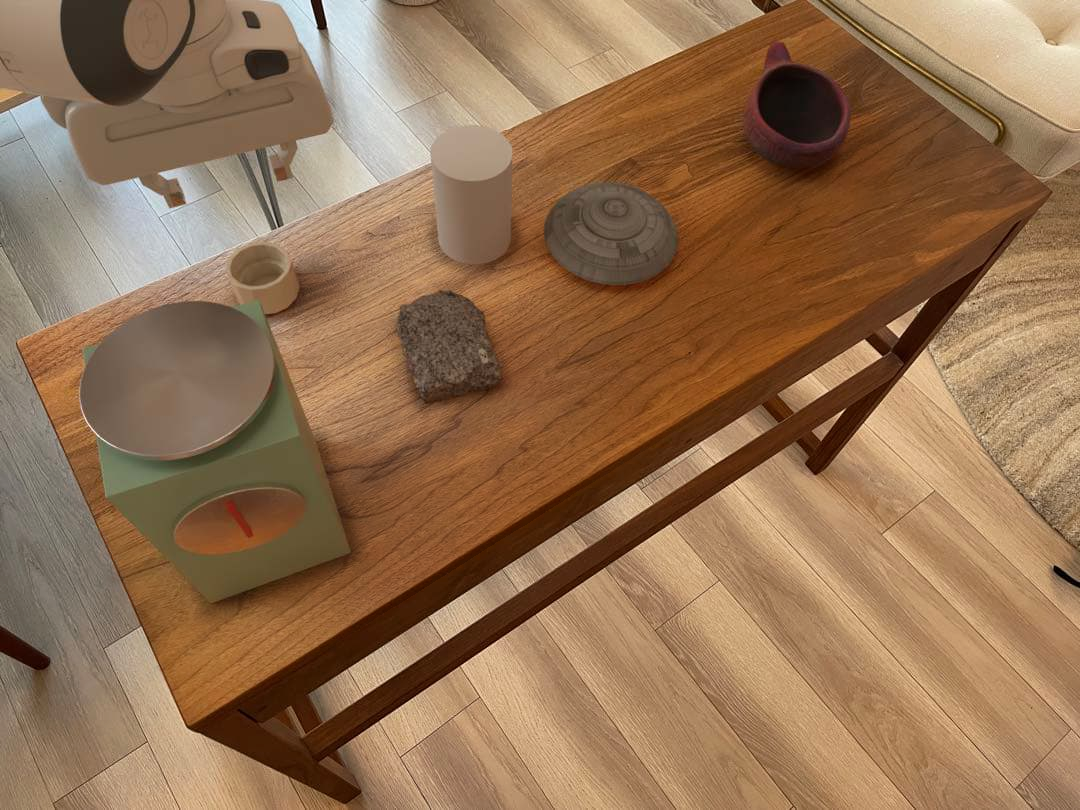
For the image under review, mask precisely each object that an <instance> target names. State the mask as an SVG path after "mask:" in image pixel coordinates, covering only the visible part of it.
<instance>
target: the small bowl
mask: <svg viewBox="0 0 1080 810" xmlns="http://www.w3.org/2000/svg"><path fill="white" fill-rule="evenodd" d="M225 272H226V276H227V279H228V282H229V284H230V286H231V289H232V291H233V293H234V295H235V297H236V300H237V302H238V305H241V304H245V303H248V302H252V301H256V300H259V301H260V303H261V306H262V308H263V311H264V313H265V315H271V314H277V313H279V312H281V311H283V310H286V309H287V308H289V307H290V306H291V305H292V303H293V302H295V301H296V299H297V298H298V296H299V295H298V294H299V291H300V284H299V281H298V278H297V273H296V271H295V269H294V266H293V263H292V259H291V256H290V254H289V251H287V250H286V249H285V248H284V247H282V246H281V245H280V244H278V243H273V242H270V241H265V240H264V241H257V242H250V243H248V244H246V245H243V246H240V247H239V248H237V249H236V250H235V251H234V252H233V253H232V254H231V255H230V256H229V257H228V260H227V263H226V265H225Z"/></svg>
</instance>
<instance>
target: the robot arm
mask: <svg viewBox="0 0 1080 810" xmlns="http://www.w3.org/2000/svg"><path fill="white" fill-rule="evenodd" d="M294 27H295V26H293V23H292V21H291V19H290V17H289V16H288V14H287V13H286V11H285V9H284V8H283V6H282V5H280V3H277V2H274V1H270V0H269V1H268V0H0V89H3V90H7V91H8V90H9V91H14V92H20V93H24V94H25V93H26V94H31V95H37V96H39V97H40V102H41V104H42V105H43V107H44V109H45V111H46V113H47V114H48V115H49V117H50V119H51V120H52V121H53V122H54V123H55V124H56V125H58V126H59V127H61V128H63V129H66V131H67V134H68V135H67V136H68V138H69V141H70V144H71V146H72V150H73V152H74V154H75V157H76V160H77V161H78V164H79V167H80V168H81V170H82V172H83V174H84V176H85V178H87V179H88V180H90V181H91V182H94V183H95V184H98V185H100V186H108V185H113V184H117V183H122V182H126V181H129V180H134V179H139V181H140V183H141V185H142V186H144V187H145V188H147V189H149V190H151V191H152V192H154V193H156V194H157V195H159V196H161V197H163V199H164V201H165V202H166V205H167V207H168V208H169V209H173V208H178V207H182V206H185V205H187V200H186V196H185V193H184V190H183V189H182V187H181V185H180V184H181V183H180V182H179V180H178V177H175V178H171V179H167V178H165V177H164V176H163V175H161V174H160V173H164V172H168V171H173V170H176V169H181V168H186V167H189V166H193V165H198V164H202V163H206V162H210V161H215V160H220V159H224V158H227V157H232V156H237V155H241V154H244V153H250V152H253V151H257V150H262V149H266V148H270V147H274V146H278V145H279V147H278V150H277V153H275V154H271V155H268V158H269V161H270V164H271V167H272V171H273V175H274V176H275V179H276V182H282V181H287V180H291V179H294V176H293V172H292V169H291V165H292V162H293V160H294V158H295V155H296V153H297V152H298V143H297V141H299V140H304V139H307V138H313V137H316V136H322V135H325V134H327V133H328V132H329V131H330V129H331V128H332V126H333V124H334V122H335V121H334V116H333V112H332V108H331V106H330V103H329V99H328V97H327V95H326V92H325V90H324V87H323V84H322V81H321V79H320V77H319V75H318V73H317V71H316V69H315V66H314V64H313V62H312V60H311V57H310V55H309V53H308V51H307V50H306V48H305V46H304V45H303V44H302V43H301V42H300V40H299V36H298V34H297V32H296V29H295V28H294Z"/></svg>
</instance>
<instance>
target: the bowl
mask: <svg viewBox="0 0 1080 810" xmlns="http://www.w3.org/2000/svg"><path fill="white" fill-rule="evenodd" d="M851 119H852V110H851V105H850V102H849V99H848V98H847V96H846V93H845V91H844V90H843V89H842V86H840V84H839V83H838V82H836V81H835V80H834V79H833V78H832V77H830V75H828V74H826V73H825V72H823V71H822V70H820V69H817V68H815V67H812V66H810V65H808V64H804V63H799V62H798V63H797V62H793V60H792V58H791V54H790V52H789V50H788V48H787V46H786V44H785V43H784V42H782V41H777V40H776V41H773V42H771V44H770V45H769V47H768V49H767V51H766V55H765V59H764V64H763V70H762V74H761V75H760V76H759V77H758V78H757V80H756V82H755V83H754V85H753V86H752V88H751V90H750V93H749V95H748V98H747V99H746V102H745V106H744V111H743V114H742V127H743V131H744V134H745V137H746V139H747V141H748V143H749V144H750V146H751V147H752V149H753V150H754V151H755V152H756V153H757V154H758V155H760V156H761V157H762V158H763V159H765V160H766V161H767V162H770V163H772V164H774V165H778V166H781V167H786V168H790V169H791V168H792V169H807V168H813V167H816V166H819V165H821V164H824V163H825V162H827V161H828V160H830V159H831V158H833V157H834V156H835V155H836V154H837V153H838V152H839V151H840V149H842V147H843V146H844V144H845V142H846V139H847V137H848V135H849V131H850V130H849V129H850V125H851Z"/></svg>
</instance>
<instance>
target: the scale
mask: <svg viewBox="0 0 1080 810" xmlns="http://www.w3.org/2000/svg"><path fill="white" fill-rule="evenodd" d="M81 350H82V355H83V361H84V369H83V371H82V374H81V377H80V382H79V389H78V399H79V400H78V401H79V406H80V410H81V411H80V412H81V414H82V417H83V419H84V421H85V423H86V425H87V426H88V427H89V429H90V430H91V431H92V432H93V433H94V435H95V437H96V444H97V450H98V457H99V463H100V469H101V476H102V481H103V483H102V484H103V490H104V494H105V499H106V500H107V501H109V502H110V503H111V504H112V505H113V506H114V507H115V508H116V510H118V511H119V512H120V514H122V515H123V516H124V517H125V518H126V520H128V521H129V523H131V524H132V526H133V527H135V529H136V530H137V531H139V533H140V534H141V535H143V537H144V538H145V539H147V541H148V542H149V543H150V544H151V545H152V546H153V547H154V548H155V549H156V550H157V551H158V552H159V553H160V554H161V555H163V557H164V558H165V559H166V560H167V561H168V563H170V564H171V565H172V566H173V567H174V568H175V569H176V570H177V571H178V572H179V573H180V574H181V575H182V577H184V578H185V579H186V580H187V581H188V582H189V583H190V584H191V585H192V586H193V587H194V588H195V589H196V590H197V592H199V593H200V594H201V596H203V597H204V598H205V599H206V600H207V601H208V602H209V603H210V604H214V603H216V602H219V601H222V600H224V599H228V598H230V597H233V596H236V595H238V594H241V593H244V592H247V591H249V590H253V589H255V588H259V587H261V586H263V585H267V584H268V583H272V582H274V581H275V582H276V581H278V580H280V579H283V578H285V577H288V576H291V575H294V574H297V573H299V572H302V571H305V570H308V569H310V568H313V567H316V566H320V565H322V564H325V563H328V562H330V561H332V560H335V559H338V558H341V557H343V556H346V555H348V554H351V553H352V552H351V548H350V545H349V542H348V539H347V535H346V532H345V529H344V525H343V523H342V520H341V515H340V513H339V510H338V506H337V503H336V500H335V497H334V494H333V491H332V487H331V485H330V482H329V478H328V475H327V472H326V469H325V465H324V463H323V460H322V457H321V453H320V450H319V446H318V443H317V439H316V438H315V436H314V433H313V430H312V428H311V426H310V423H309V420H308V419H307V418H308V417H307V415H306V413H305V411H304V408H303V406H302V403H301V400H300V398H299V396H298V392H297V391H296V388H295V385H294V383H293V381H292V378H291V376H290V373H289V371H288V368H287V366H286V364H285V361H284V359H283V356H282V353H281V351H280V348H279V345H278V344H277V341H276V338H275V336H274V333H273V331H272V329H271V326H270V323H269V321H268V319H267V316H266V314H265V313H264V311H263V308H262V306H261V303H260V301H259V300H256V301H252V302H248V303H245V304H241V305H240V304H238V305H234V306H229V305H226V304H222V303H217V302H214V301H203V300H186V301H179V302H178V301H177V302H173V303H172V302H171V303H168V304H163V305H159V306H156V307H154V308H150V309H147V310H146V311H144V312H141V313H139V314H137V315H135V316H133V317H131V318H129V319H128V320H126V321H125V322H123V323H122V324H120V325H119V326H117V327H116V328H115V329H114V330H113V331H111V332H110V333H108V334H107V336H106V337H105V338H104V339H103V340H102V341H100V343H96V344H93V345H89V346H87V347H86V346H85V347H83V348H82V349H81Z"/></svg>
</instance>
